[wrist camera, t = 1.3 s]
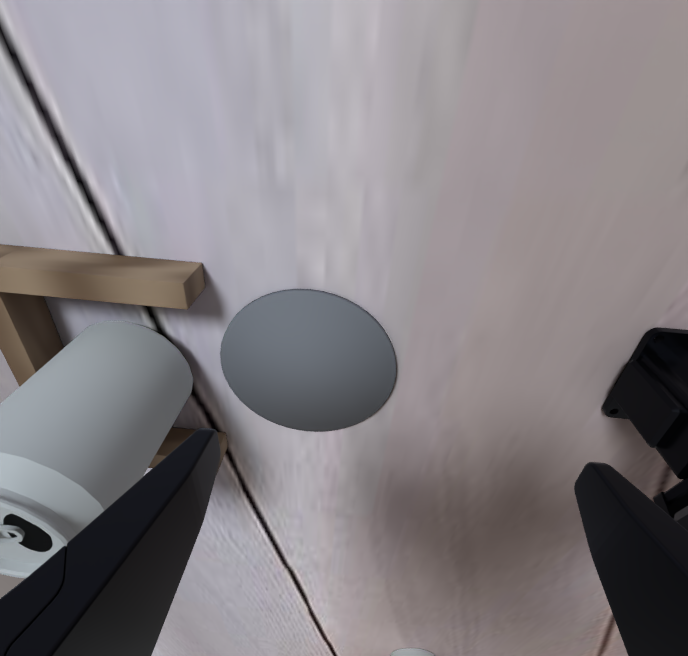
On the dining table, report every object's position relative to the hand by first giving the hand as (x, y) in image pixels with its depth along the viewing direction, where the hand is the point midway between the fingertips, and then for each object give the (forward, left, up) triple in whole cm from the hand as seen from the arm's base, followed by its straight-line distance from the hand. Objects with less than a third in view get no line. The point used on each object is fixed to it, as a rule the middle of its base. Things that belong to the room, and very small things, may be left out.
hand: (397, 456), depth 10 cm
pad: (+4, +8, -13) cm, 16 cm away
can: (+15, +9, -13) cm, 22 cm away
